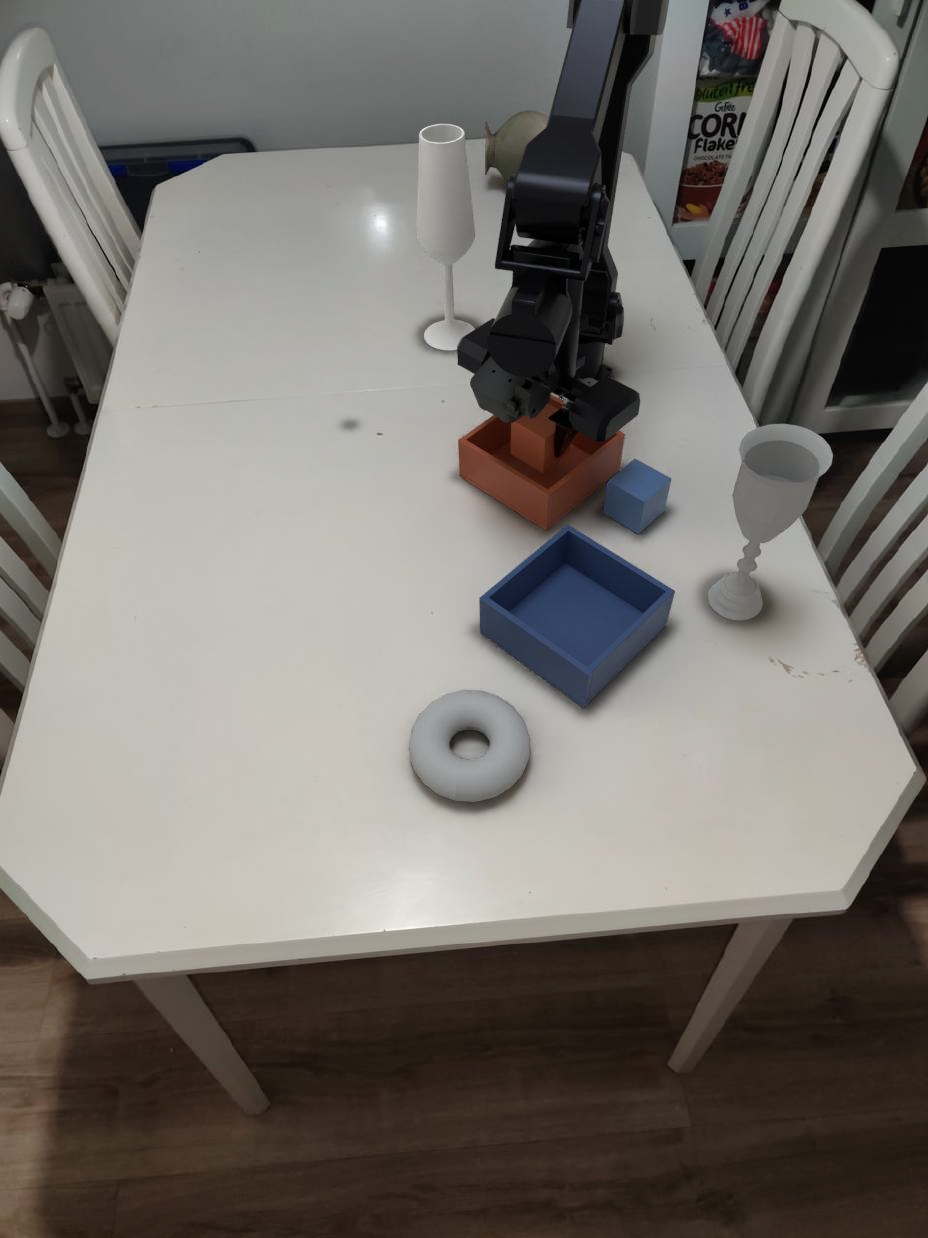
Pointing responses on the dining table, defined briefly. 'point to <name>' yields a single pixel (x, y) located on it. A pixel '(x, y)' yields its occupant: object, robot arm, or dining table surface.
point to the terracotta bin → (529, 488)
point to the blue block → (636, 495)
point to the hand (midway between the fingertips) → (541, 444)
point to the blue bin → (575, 613)
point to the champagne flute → (444, 218)
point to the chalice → (768, 504)
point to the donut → (464, 774)
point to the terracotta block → (536, 440)
